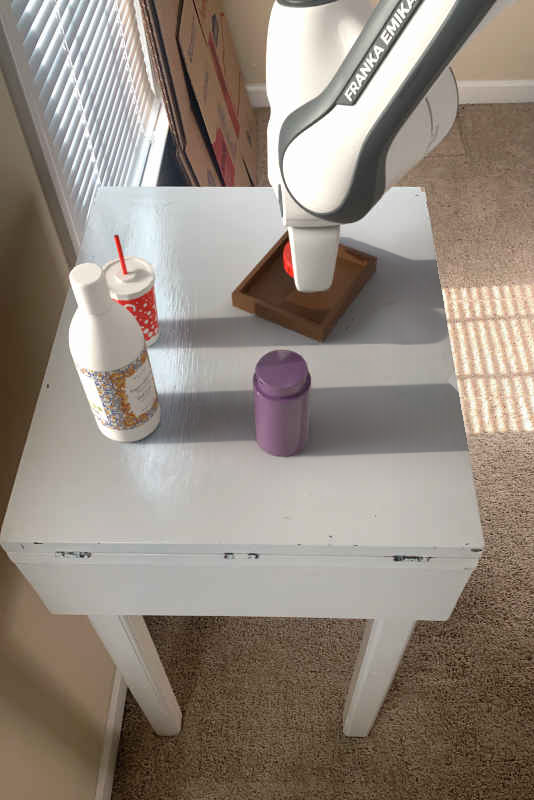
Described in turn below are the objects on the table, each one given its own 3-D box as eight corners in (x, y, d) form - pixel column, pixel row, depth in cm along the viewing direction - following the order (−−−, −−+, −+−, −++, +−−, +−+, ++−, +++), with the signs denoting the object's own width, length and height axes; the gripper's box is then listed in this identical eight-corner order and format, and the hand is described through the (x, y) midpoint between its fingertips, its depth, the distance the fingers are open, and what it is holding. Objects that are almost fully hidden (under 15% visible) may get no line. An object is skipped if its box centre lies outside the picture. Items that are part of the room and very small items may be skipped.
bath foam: (134, 455, 72) (89, 314, 55) (84, 426, 74) (27, 282, 57) (175, 411, 75) (144, 264, 58) (126, 384, 77) (82, 236, 60)
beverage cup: (103, 339, 81) (73, 241, 69) (138, 309, 84) (114, 209, 72) (142, 361, 79) (118, 264, 67) (176, 329, 82) (159, 231, 70)
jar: (289, 406, 75) (290, 337, 66) (318, 441, 72) (323, 374, 64) (245, 429, 73) (240, 361, 65) (274, 465, 71) (273, 400, 62)
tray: (290, 238, 90) (290, 225, 89) (375, 270, 87) (377, 257, 85) (232, 305, 84) (231, 293, 82) (321, 342, 80) (322, 330, 78)
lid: (284, 283, 81) (284, 270, 79) (282, 247, 84) (282, 234, 82) (336, 281, 81) (337, 269, 79) (331, 245, 84) (333, 232, 82)
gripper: (275, 106, 77) (276, 213, 88) (284, 224, 65) (283, 328, 77) (332, 104, 77) (325, 212, 88) (350, 222, 65) (339, 326, 77)
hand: (306, 267), depth 82 cm, fingers closed on lid, 6 cm apart
